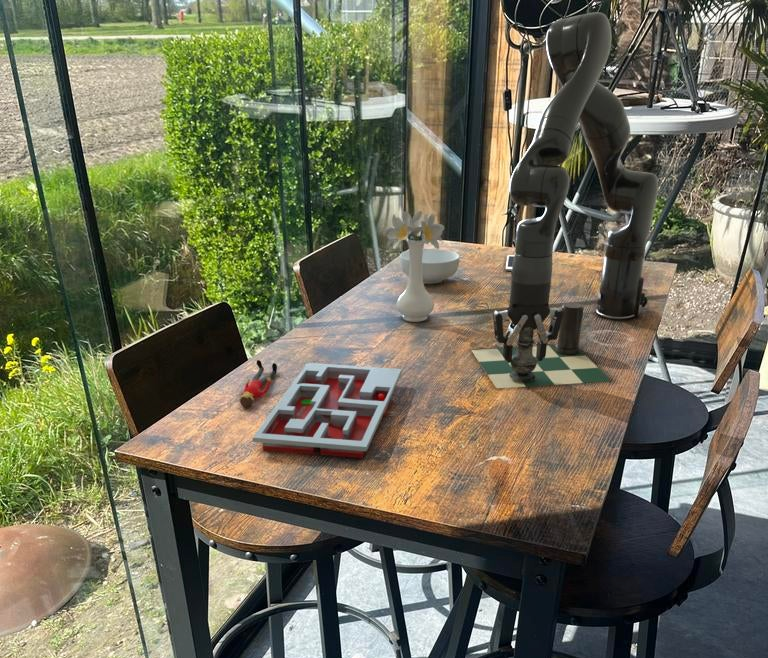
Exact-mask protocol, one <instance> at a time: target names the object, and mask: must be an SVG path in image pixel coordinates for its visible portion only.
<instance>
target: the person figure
mask: <svg viewBox="0 0 768 658" xmlns="http://www.w3.org/2000/svg"><path fill="white" fill-rule="evenodd" d="M262 363H263V362H262V361H261V360H260V359H257V360H256V365H257V367H258V371H257V373H256V374H255V375H254V377H252V379H251V380H250V379H249V378H248V379H247V380H246V383H245V386H244V390H243V392H242V394H241V396H240V398H239V404H240V405H241V407H242V408H243V409H247V408H250V407H252V406H253V404H254V401H255V399H260V398H262V397H263V396H264V395H265V394H266V393H267V392H268V391H269V389H270V386H271V383H272V379H273V378H274V377H275V376H276V374H277V371H278V365H277V364H276V363H275V362H273V363H272V364H271V368H272V369H271V370H272V371H271V372H270V373H269V374H268V375H267V376H265V377H263V378H261V377H262V375H263V373H264V371H265V368H264V366H263V364H262ZM264 386H265V387H264Z"/></svg>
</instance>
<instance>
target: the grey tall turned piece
mask: <svg viewBox="0 0 768 658" xmlns="http://www.w3.org/2000/svg"><path fill="white" fill-rule="evenodd" d="M534 331H535V330H533V328H531V327H527V328H524V330H522V331H521V330H520V332H519V334H518V339H516V343H517V347H518V348H517V353H516V355H514V356H512V362H511V367H512V369H513V370H514V372H512V373H510V375H509V376H510V378H512V379H514V380H517V381H531V380H533V379H535V374H533V373H532V371H533V370H534V369H535V367H536V365H537V363H538V359H537V358H536V357H534V356H533V354H532V347H534V344H535V340H534Z"/></svg>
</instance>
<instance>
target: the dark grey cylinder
mask: <svg viewBox="0 0 768 658" xmlns="http://www.w3.org/2000/svg"><path fill="white" fill-rule="evenodd" d="M584 309H585V307H584V305H583V304H581V303H579V302H573V301H571V302H570V301H569V302H565V303H564V304H562V305H561V310H562V311H563V318H562V321H561V325H560V329H559V333H558V337H557V343H556V344H555V345H556V348H555V351H556V352H557V353H559V354H563V355H576V354H578V353H580V350H581V347H582V346H581V345H580V342H581V341H580V339H581V332H582V324H583V317H584Z"/></svg>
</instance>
